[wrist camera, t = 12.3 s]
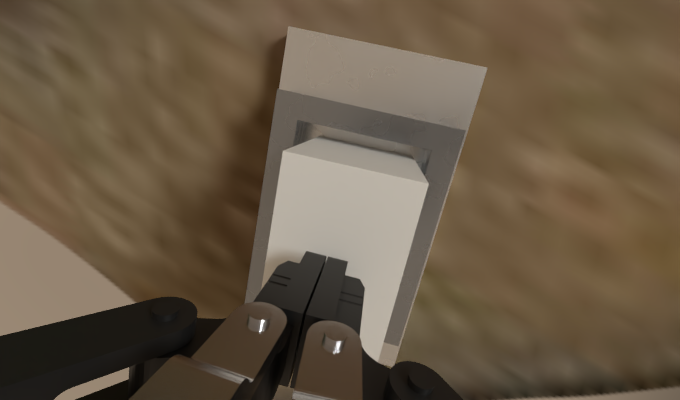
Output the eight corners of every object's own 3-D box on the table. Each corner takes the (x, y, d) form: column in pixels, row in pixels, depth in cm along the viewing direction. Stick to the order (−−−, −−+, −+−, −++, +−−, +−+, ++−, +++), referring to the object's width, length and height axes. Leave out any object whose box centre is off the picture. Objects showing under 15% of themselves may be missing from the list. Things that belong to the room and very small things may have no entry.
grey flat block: (480, 70, 17) (501, 62, 14) (393, 353, 22) (394, 392, 19) (294, 31, 18) (276, 15, 15) (249, 315, 23) (228, 346, 20)
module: (412, 156, 18) (429, 183, 11) (377, 288, 20) (374, 377, 13) (320, 135, 18) (282, 150, 12) (295, 267, 20) (251, 344, 14)
